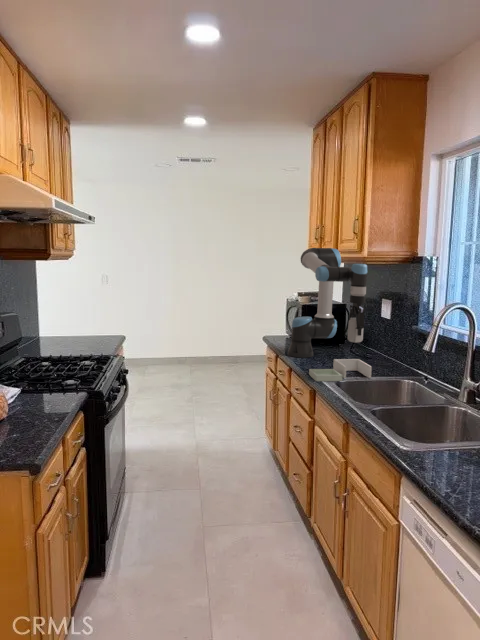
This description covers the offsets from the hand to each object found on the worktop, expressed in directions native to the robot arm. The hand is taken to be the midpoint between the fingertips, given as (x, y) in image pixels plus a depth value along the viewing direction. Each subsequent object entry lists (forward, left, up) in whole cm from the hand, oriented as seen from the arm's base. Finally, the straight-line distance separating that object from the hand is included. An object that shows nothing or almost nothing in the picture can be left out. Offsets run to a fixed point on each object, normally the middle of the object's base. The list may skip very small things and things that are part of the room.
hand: (355, 340), depth 240 cm
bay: (-2, 0, -18) cm, 18 cm away
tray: (+4, -16, -18) cm, 25 cm away
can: (0, 0, -1) cm, 1 cm away
